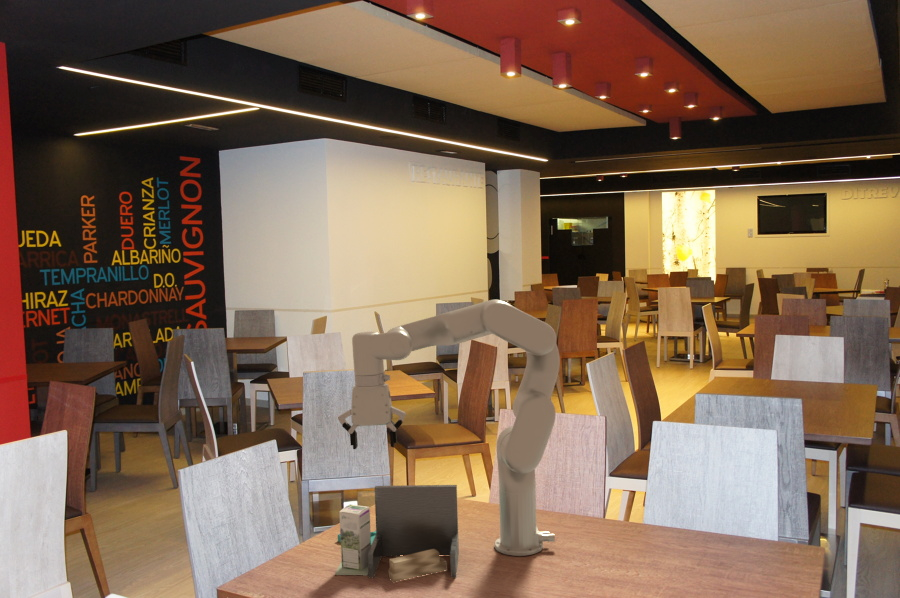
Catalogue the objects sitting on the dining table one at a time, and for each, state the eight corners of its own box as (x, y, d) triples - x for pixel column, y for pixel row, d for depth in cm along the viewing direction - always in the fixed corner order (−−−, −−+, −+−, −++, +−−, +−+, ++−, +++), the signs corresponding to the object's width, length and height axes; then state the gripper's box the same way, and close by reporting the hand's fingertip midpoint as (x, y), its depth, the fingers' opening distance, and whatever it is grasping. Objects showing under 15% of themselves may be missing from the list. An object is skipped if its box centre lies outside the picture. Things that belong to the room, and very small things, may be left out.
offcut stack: (441, 567, 185) (440, 547, 185) (447, 571, 182) (446, 551, 182) (388, 578, 179) (387, 558, 179) (393, 584, 176) (393, 563, 176)
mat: (374, 558, 191) (374, 557, 191) (367, 575, 181) (367, 573, 181) (343, 559, 192) (343, 557, 192) (334, 575, 182) (334, 574, 182)
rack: (458, 553, 193) (456, 484, 192) (456, 577, 178) (453, 503, 177) (378, 554, 194) (375, 485, 193) (368, 578, 180) (365, 504, 179)
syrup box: (372, 562, 188) (370, 505, 187) (360, 571, 182) (358, 513, 182) (353, 559, 190) (351, 503, 189) (340, 568, 185) (338, 510, 184)
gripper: (404, 376, 194) (409, 441, 195) (338, 380, 194) (343, 445, 195) (402, 381, 186) (406, 449, 187) (333, 385, 187) (337, 452, 188)
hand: (374, 447), depth 191 cm, fingers open, 9 cm apart
